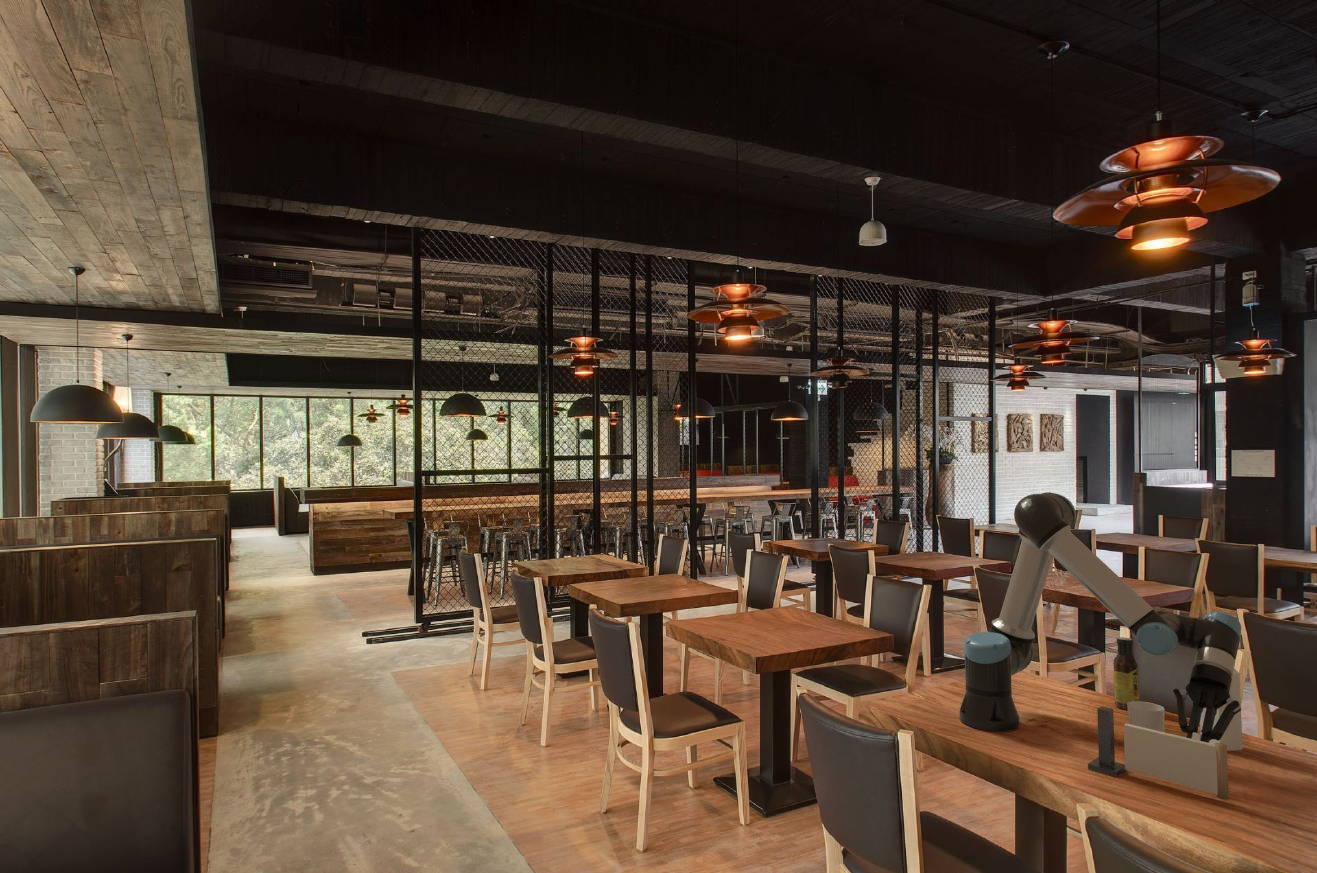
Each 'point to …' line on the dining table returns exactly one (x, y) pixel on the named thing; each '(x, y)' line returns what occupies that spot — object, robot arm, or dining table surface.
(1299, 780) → the dining table surface
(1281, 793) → the dining table surface
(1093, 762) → the gate post
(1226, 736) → the milk
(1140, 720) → the white cup
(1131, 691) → the sauce bottle
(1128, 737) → the gate panel
